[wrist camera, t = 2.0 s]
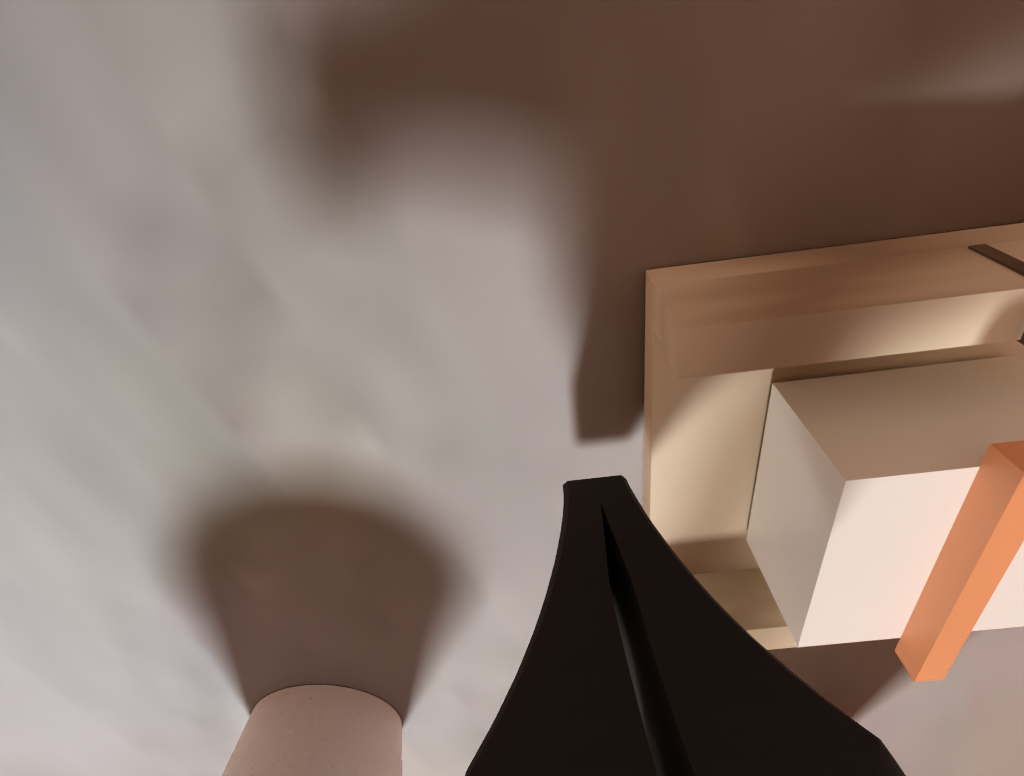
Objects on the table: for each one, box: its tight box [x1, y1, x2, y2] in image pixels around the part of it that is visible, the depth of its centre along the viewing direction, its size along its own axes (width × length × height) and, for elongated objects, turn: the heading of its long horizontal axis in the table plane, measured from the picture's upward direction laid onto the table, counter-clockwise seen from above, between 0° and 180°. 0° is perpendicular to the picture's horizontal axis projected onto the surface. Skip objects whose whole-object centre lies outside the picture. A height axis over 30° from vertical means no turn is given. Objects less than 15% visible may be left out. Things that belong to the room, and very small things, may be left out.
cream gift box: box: [746, 355, 1024, 682], centre depth 12 cm, size 5×6×4 cm
